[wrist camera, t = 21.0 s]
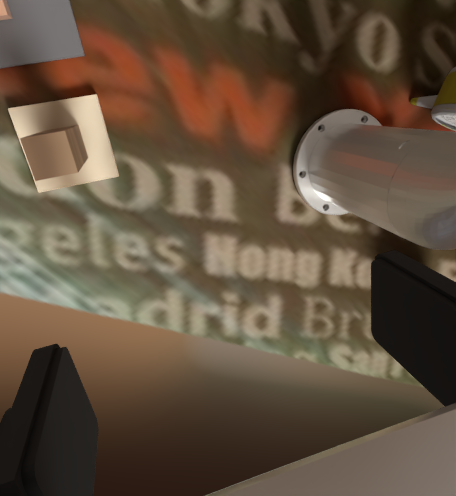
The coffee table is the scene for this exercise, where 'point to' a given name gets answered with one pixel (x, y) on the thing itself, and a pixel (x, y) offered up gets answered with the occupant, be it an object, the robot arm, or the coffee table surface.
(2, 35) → the mat
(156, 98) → the coffee table surface
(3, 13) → the tile
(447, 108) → the alarm clock
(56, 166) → the square post stand
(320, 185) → the robot arm
